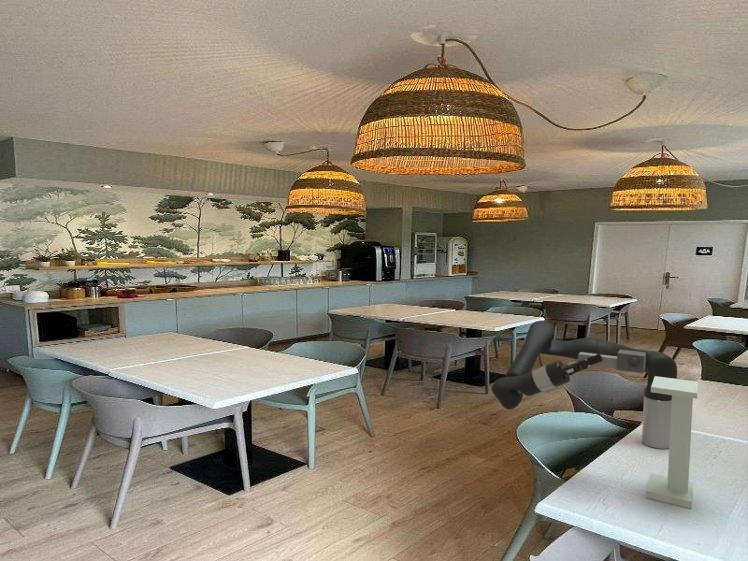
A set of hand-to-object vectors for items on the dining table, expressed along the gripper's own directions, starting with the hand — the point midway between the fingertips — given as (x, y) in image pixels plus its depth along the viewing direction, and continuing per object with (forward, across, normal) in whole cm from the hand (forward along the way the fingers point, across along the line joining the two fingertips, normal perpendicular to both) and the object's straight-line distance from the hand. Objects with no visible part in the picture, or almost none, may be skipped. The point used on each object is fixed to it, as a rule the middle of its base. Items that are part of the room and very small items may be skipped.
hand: (601, 356), depth 156 cm
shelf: (-2, 0, -42) cm, 42 cm away
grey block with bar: (+1, 0, -4) cm, 4 cm away
